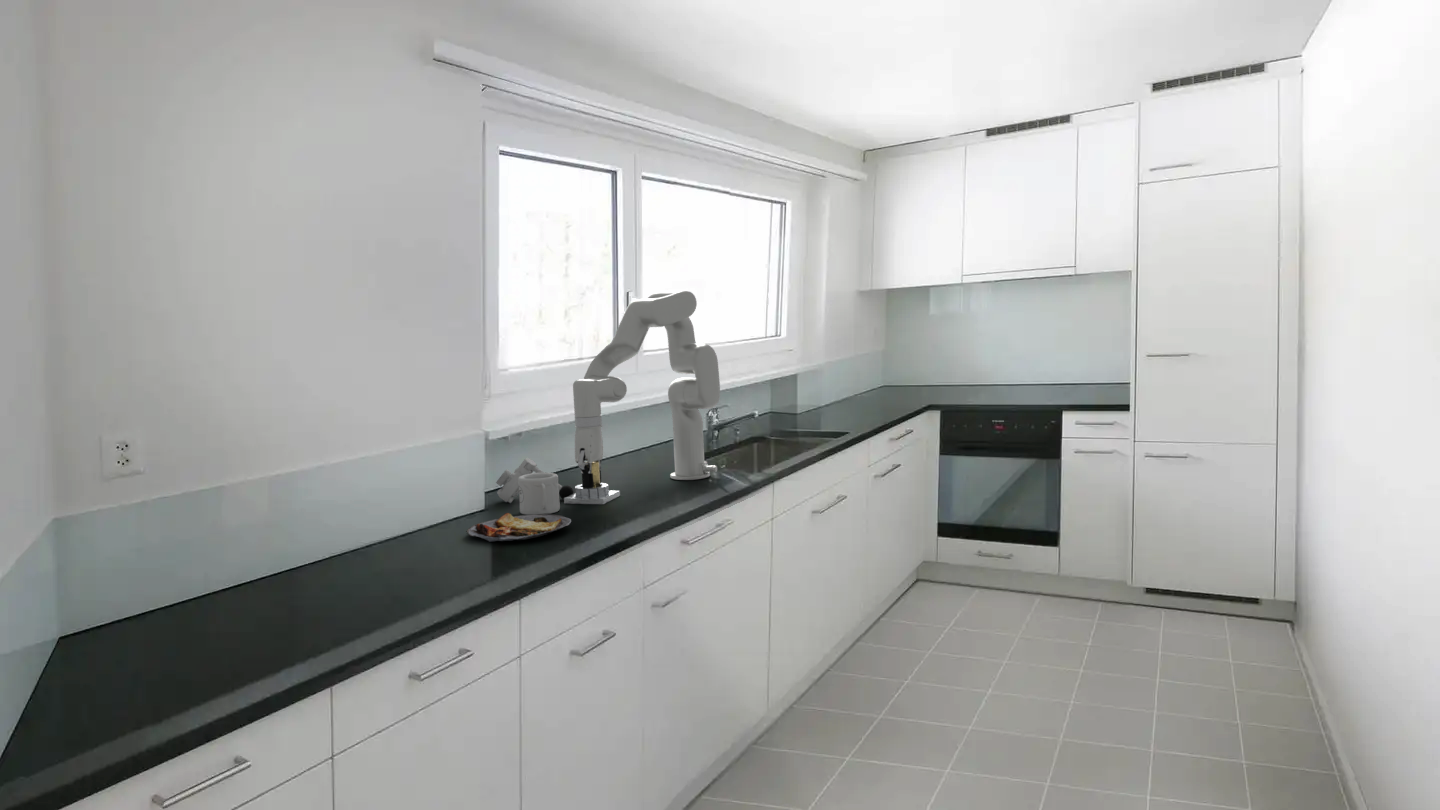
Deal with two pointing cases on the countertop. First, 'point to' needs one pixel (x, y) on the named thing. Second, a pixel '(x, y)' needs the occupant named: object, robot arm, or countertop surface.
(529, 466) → the valve
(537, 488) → the mug
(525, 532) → the food plate
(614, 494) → the flange plate
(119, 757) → the countertop surface
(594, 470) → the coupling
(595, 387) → the robot arm
